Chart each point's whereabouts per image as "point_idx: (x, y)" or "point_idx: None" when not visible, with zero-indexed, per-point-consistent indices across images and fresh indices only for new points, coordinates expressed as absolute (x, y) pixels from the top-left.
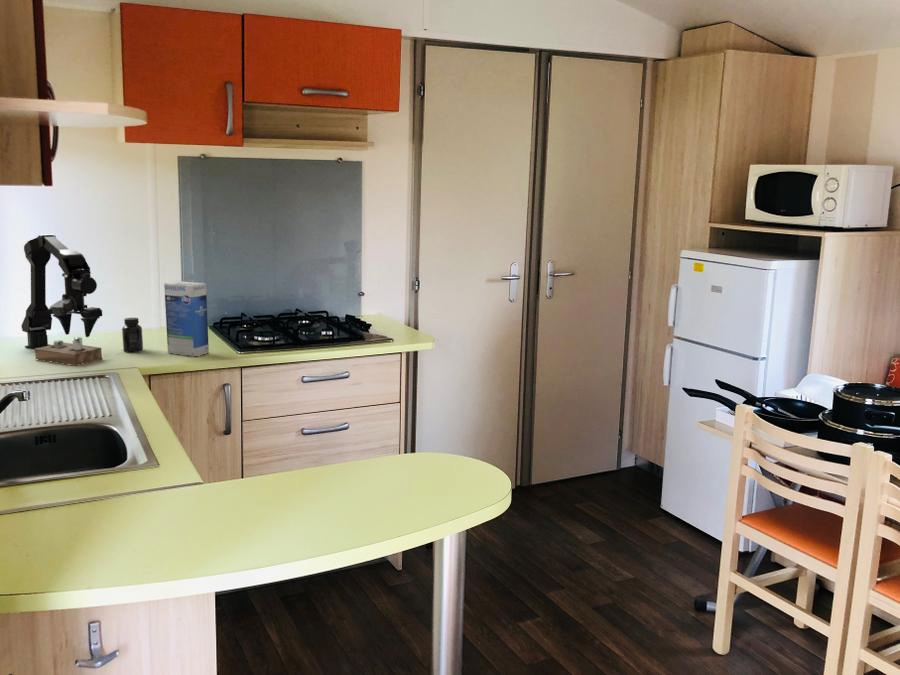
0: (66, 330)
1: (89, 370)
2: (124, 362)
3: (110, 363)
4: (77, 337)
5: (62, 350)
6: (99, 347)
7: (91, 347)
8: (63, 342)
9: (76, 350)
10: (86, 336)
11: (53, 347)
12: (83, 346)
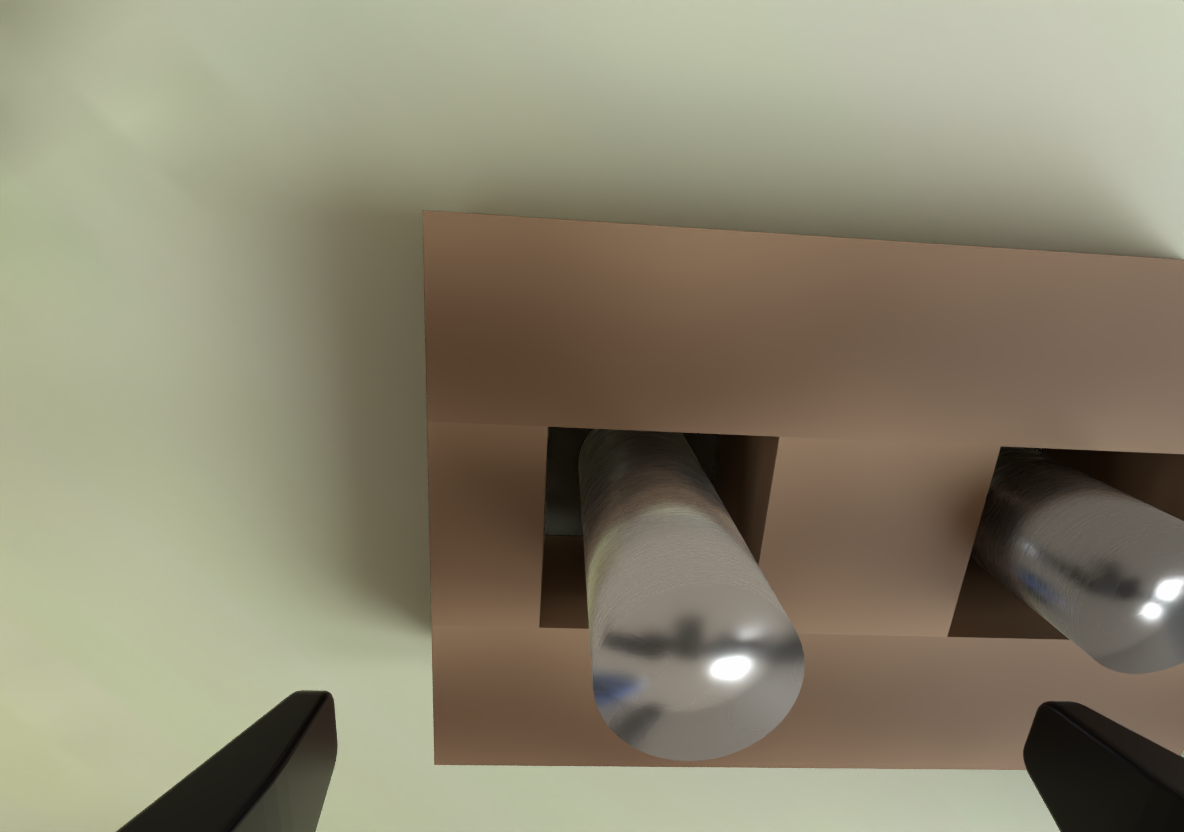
0: (1147, 806)
1: (38, 76)
2: (86, 633)
3: (179, 528)
4: (750, 732)
5: (845, 372)
6: (469, 764)
7: (574, 719)
8: None
9: (625, 475)
10: (289, 700)
11: None
12: None
